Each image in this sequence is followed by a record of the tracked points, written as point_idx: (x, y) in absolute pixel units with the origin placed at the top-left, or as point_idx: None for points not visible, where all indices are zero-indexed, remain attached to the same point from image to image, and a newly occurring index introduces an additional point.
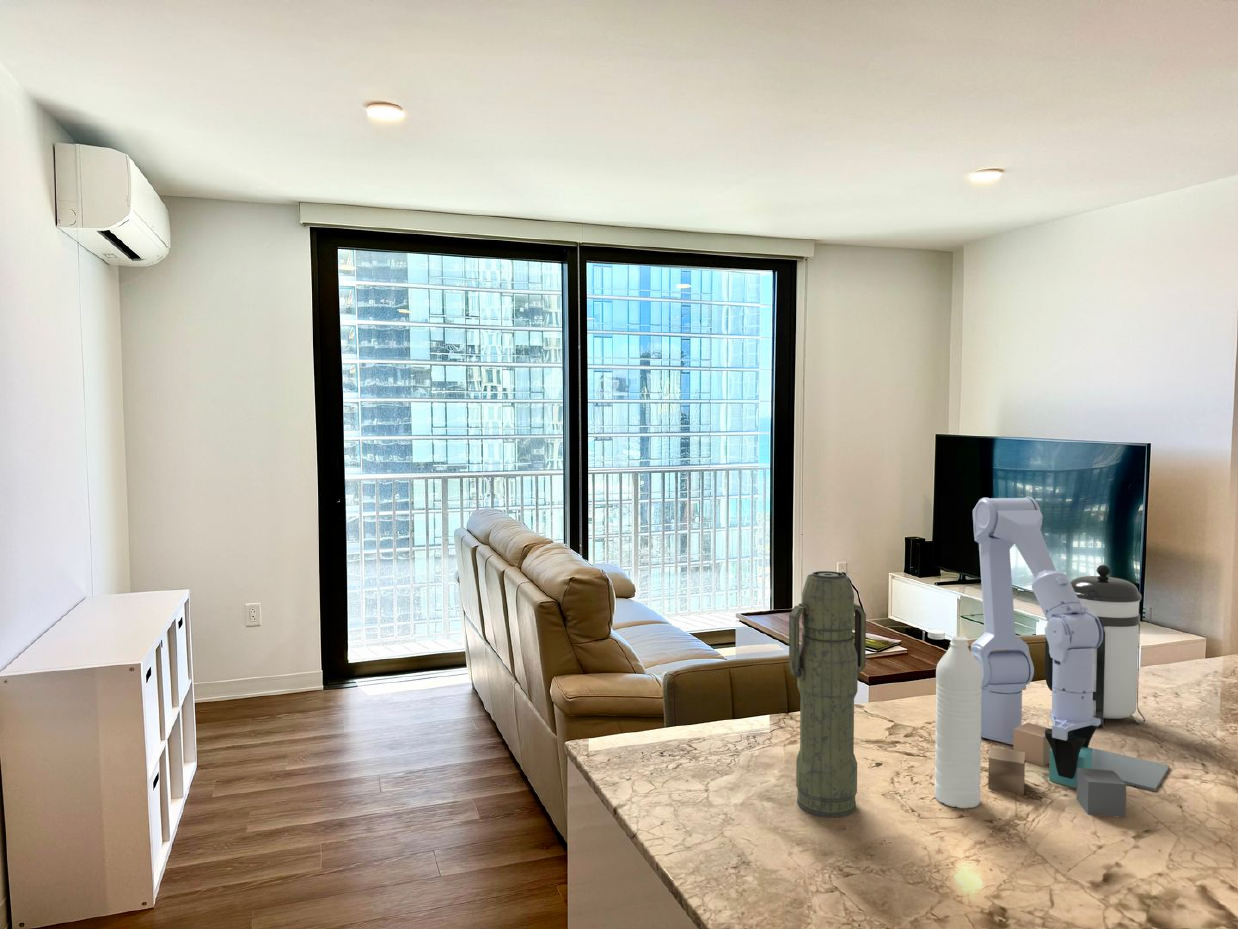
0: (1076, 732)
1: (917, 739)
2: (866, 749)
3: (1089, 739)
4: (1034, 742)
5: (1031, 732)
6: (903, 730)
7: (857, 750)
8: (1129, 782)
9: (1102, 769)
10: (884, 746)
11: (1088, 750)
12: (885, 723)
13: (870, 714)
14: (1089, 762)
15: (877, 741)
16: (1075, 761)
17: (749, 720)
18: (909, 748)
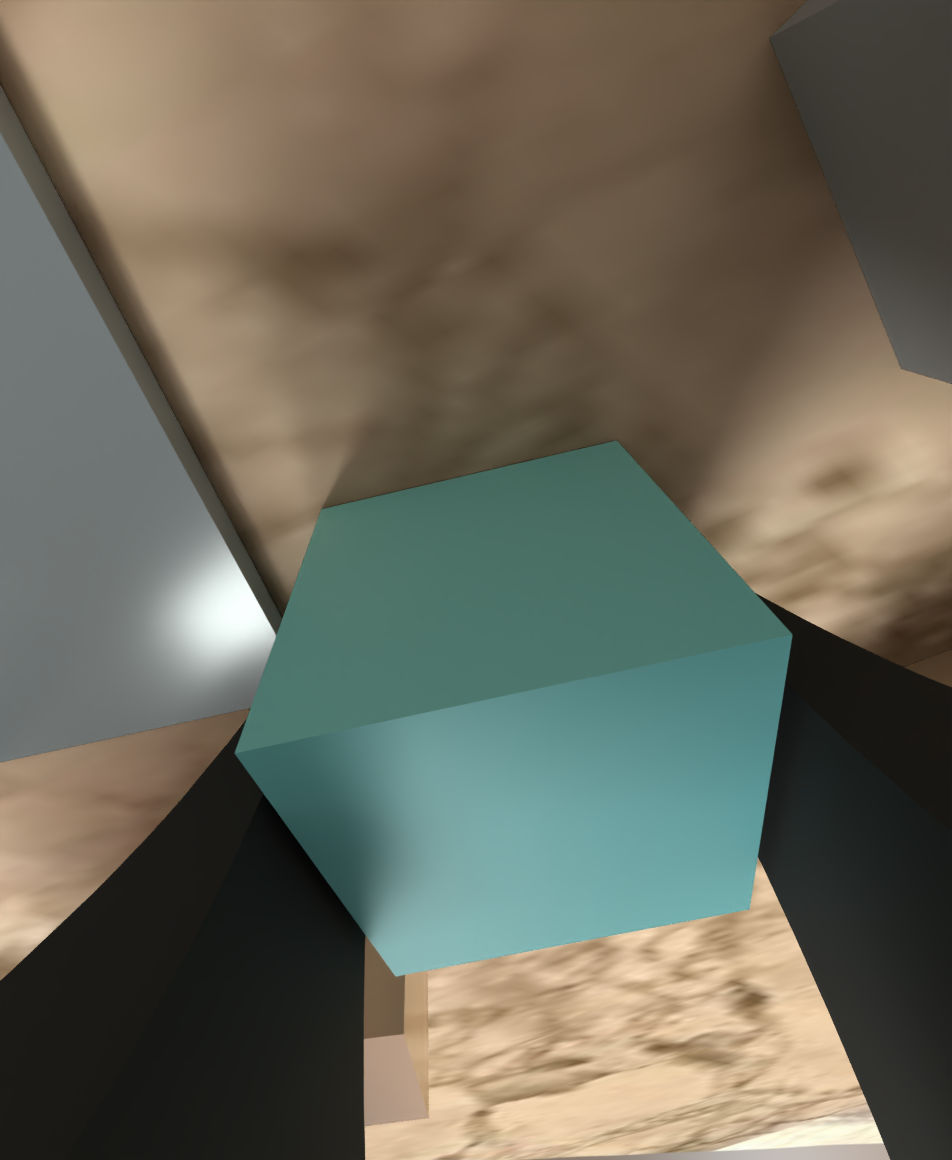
0: (270, 1148)
1: (579, 1045)
2: (801, 1038)
3: (189, 958)
4: (412, 980)
5: (382, 1084)
6: (533, 1080)
7: (828, 1040)
8: (15, 160)
9: (42, 550)
10: (733, 1039)
11: (367, 753)
12: (520, 1107)
13: (485, 1135)
14: (423, 604)
15: (703, 1057)
16: (878, 656)
17: (779, 1143)
18: (692, 1019)
